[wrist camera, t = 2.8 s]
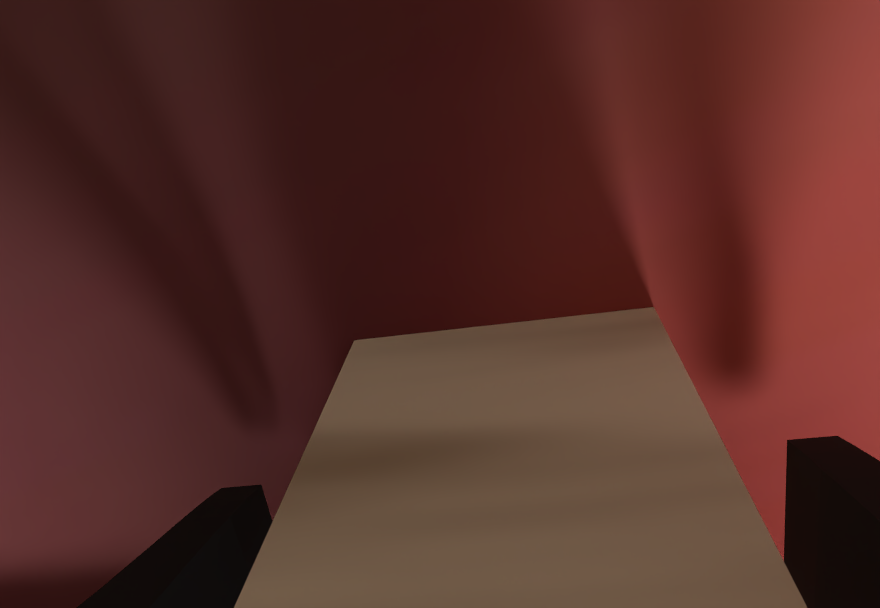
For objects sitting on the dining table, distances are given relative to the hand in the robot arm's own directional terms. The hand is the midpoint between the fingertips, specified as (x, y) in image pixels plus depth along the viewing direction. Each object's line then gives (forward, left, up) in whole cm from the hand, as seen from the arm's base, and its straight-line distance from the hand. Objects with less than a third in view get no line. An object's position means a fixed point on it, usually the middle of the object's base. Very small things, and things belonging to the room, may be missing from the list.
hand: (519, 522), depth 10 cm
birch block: (0, 0, -2) cm, 2 cm away
